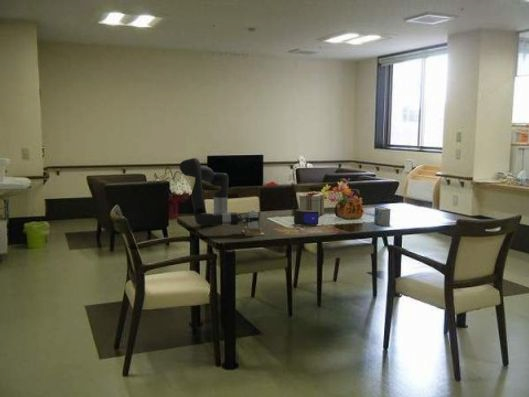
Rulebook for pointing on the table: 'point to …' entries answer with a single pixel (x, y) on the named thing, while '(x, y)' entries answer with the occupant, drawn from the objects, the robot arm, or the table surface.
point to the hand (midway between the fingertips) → (257, 218)
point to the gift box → (312, 202)
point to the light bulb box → (382, 216)
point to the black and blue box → (306, 217)
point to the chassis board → (253, 231)
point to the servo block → (254, 223)
